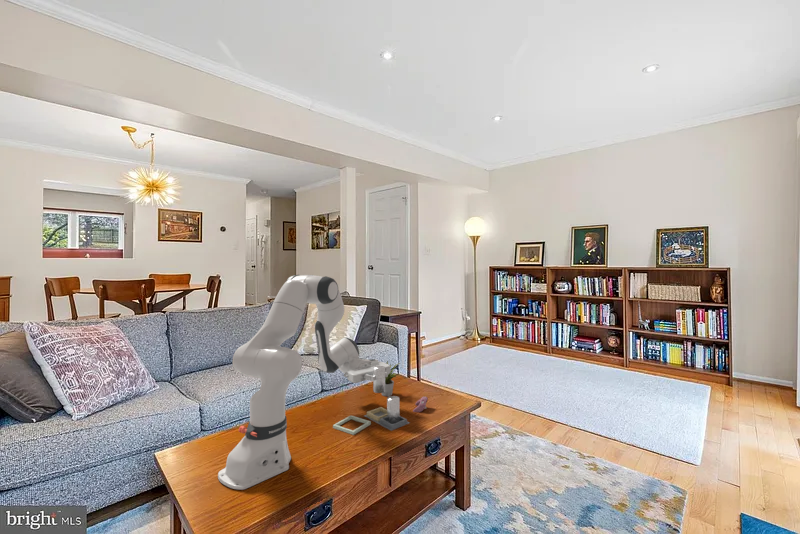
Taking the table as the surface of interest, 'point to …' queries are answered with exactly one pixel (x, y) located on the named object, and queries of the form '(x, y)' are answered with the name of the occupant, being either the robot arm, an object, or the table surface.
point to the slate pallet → (384, 419)
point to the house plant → (389, 382)
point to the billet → (393, 409)
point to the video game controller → (421, 404)
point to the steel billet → (379, 379)
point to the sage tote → (338, 427)
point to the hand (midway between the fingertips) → (380, 376)
